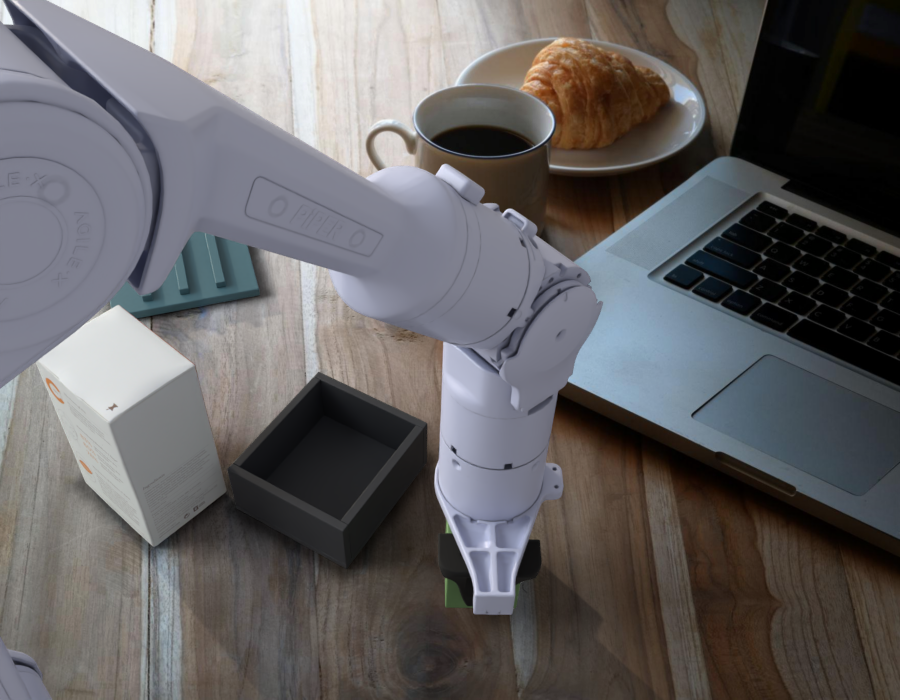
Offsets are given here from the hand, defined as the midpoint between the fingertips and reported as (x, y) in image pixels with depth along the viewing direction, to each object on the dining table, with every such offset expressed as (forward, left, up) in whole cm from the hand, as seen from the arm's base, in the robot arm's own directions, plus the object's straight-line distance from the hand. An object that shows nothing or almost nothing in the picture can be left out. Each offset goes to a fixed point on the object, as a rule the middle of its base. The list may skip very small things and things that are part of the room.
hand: (481, 565), depth 58 cm
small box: (-4, +23, -3) cm, 24 cm away
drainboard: (+17, +41, -3) cm, 44 cm away
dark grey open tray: (+2, +13, -3) cm, 13 cm away
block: (0, 0, -1) cm, 1 cm away
